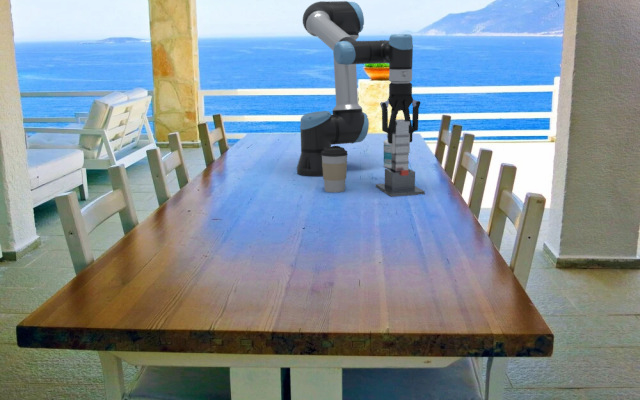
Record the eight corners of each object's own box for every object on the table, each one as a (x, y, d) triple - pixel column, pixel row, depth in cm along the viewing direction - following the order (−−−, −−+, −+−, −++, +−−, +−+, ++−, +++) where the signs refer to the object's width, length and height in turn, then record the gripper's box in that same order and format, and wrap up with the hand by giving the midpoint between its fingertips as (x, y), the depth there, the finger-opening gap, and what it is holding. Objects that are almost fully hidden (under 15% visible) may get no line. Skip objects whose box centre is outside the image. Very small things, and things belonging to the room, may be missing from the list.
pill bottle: (402, 165, 280) (402, 132, 277) (402, 168, 273) (402, 134, 270) (383, 165, 281) (383, 132, 278) (383, 168, 274) (383, 135, 270)
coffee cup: (345, 193, 231) (345, 149, 228) (319, 192, 233) (318, 149, 230) (349, 187, 240) (349, 145, 236) (324, 187, 242) (323, 144, 238)
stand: (390, 196, 225) (390, 173, 224) (375, 186, 241) (375, 164, 239) (424, 194, 228) (425, 171, 226) (408, 184, 243) (408, 163, 241)
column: (396, 185, 230) (397, 121, 225) (390, 181, 236) (390, 119, 231) (409, 184, 231) (409, 121, 226) (402, 180, 237) (403, 119, 232)
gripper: (378, 83, 221) (378, 155, 226) (429, 82, 224) (428, 152, 230) (371, 82, 228) (371, 152, 233) (421, 80, 231) (420, 149, 237)
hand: (399, 152), depth 231 cm, fingers closed on column, 4 cm apart
